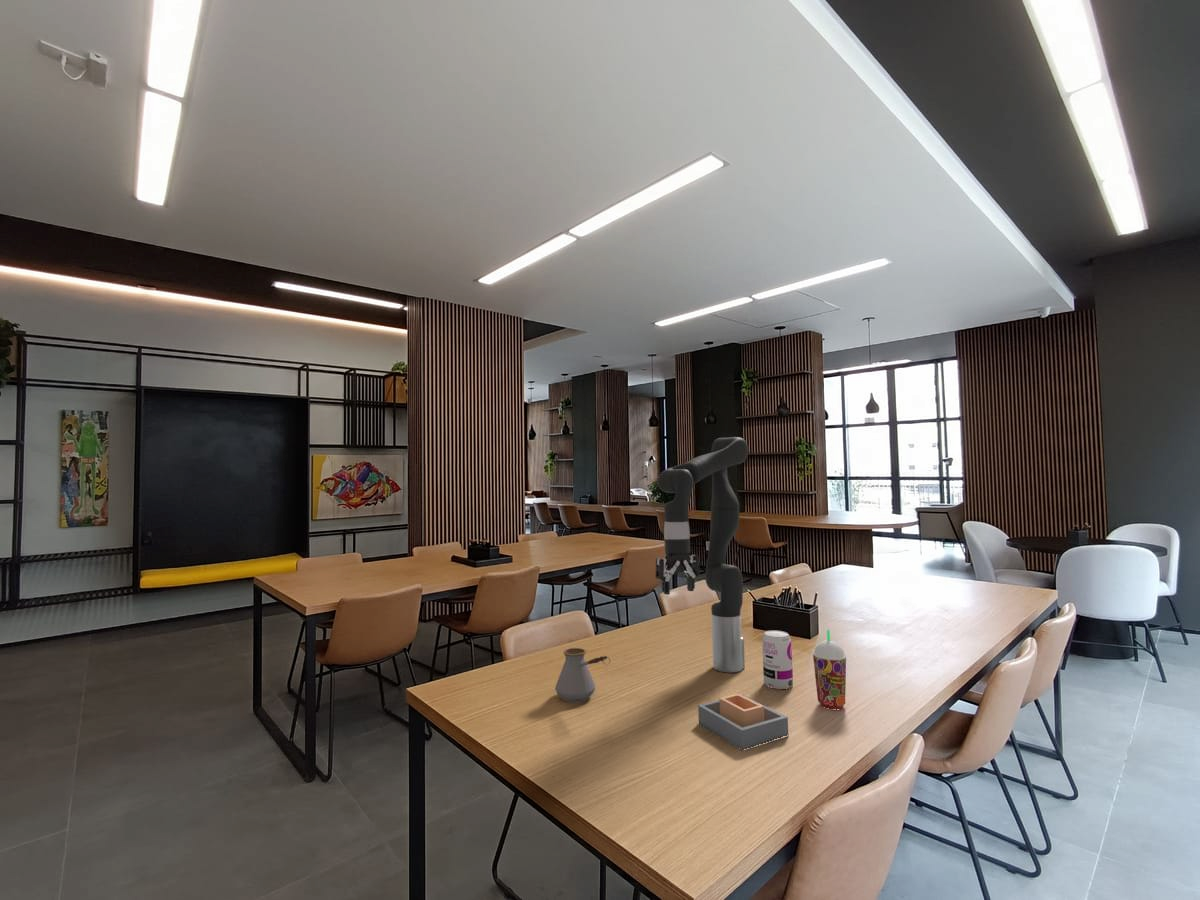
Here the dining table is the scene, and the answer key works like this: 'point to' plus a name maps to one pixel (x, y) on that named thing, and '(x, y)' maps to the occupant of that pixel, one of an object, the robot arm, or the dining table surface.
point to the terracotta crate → (741, 710)
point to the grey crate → (745, 736)
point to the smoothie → (830, 673)
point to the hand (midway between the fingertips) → (678, 592)
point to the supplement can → (777, 659)
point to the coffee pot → (576, 676)
